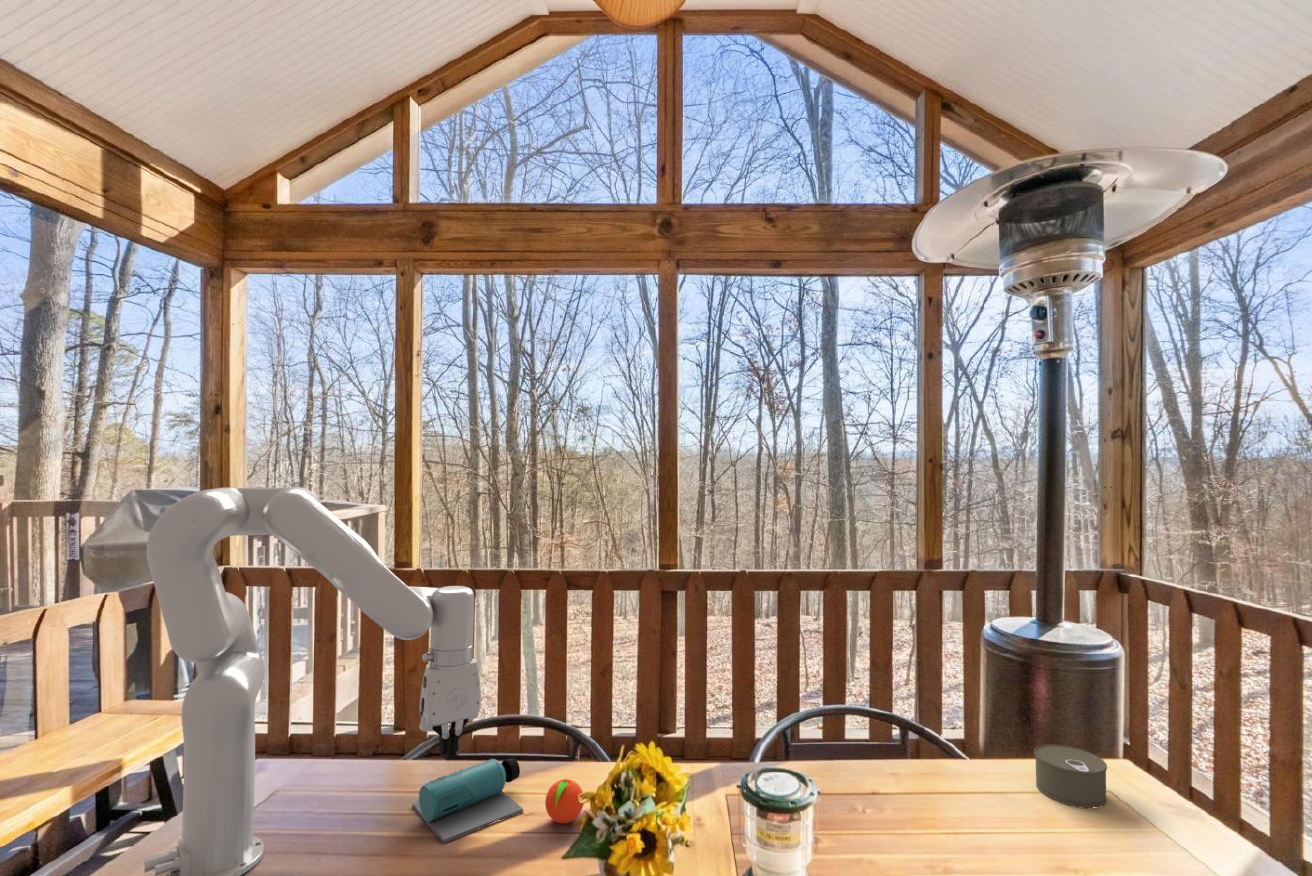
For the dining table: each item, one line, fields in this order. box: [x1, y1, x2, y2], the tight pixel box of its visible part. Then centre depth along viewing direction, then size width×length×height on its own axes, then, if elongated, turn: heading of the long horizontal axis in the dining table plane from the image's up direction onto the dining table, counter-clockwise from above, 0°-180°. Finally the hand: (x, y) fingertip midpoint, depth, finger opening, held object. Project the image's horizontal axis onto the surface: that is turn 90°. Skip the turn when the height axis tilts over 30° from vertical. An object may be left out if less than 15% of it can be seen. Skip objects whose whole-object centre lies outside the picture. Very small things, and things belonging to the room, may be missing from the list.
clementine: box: [544, 778, 585, 824], centre depth 115 cm, size 8×7×7 cm
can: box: [1033, 743, 1108, 809], centre depth 126 cm, size 12×12×7 cm
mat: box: [411, 790, 524, 844], centre depth 119 cm, size 15×15×1 cm
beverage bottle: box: [418, 757, 521, 822], centre depth 120 cm, size 6×7×20 cm
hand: (448, 756), depth 117 cm, fingers closed
